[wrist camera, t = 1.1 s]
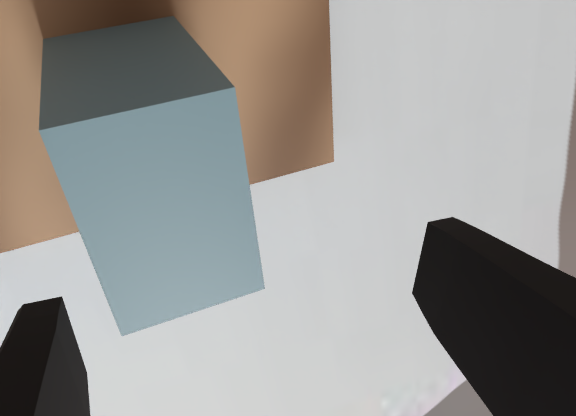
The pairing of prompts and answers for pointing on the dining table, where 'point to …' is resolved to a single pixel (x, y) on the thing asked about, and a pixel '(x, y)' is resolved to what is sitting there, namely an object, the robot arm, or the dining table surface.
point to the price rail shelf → (221, 50)
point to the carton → (151, 168)
